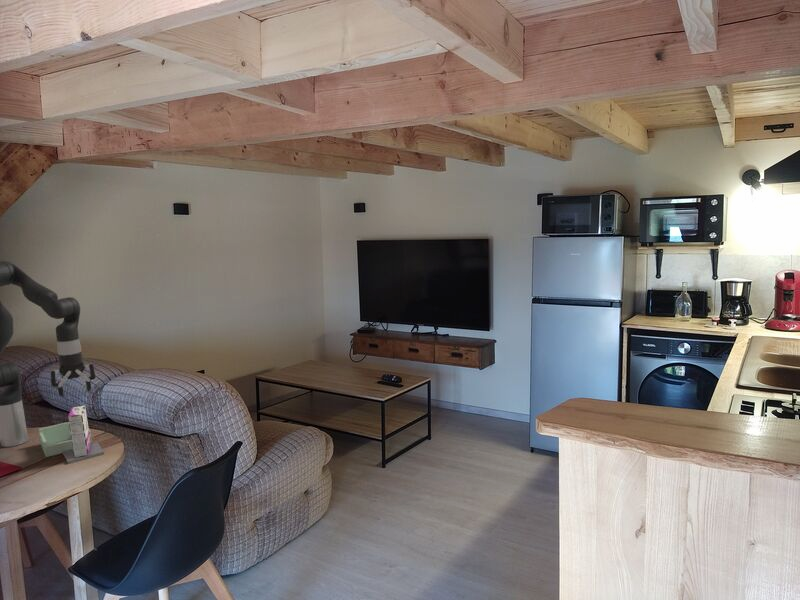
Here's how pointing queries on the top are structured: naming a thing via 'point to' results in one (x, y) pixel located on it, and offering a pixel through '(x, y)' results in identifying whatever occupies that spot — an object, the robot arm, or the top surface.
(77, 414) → the candy bar box
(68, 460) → the slate tile
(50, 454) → the frame
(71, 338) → the robot arm
